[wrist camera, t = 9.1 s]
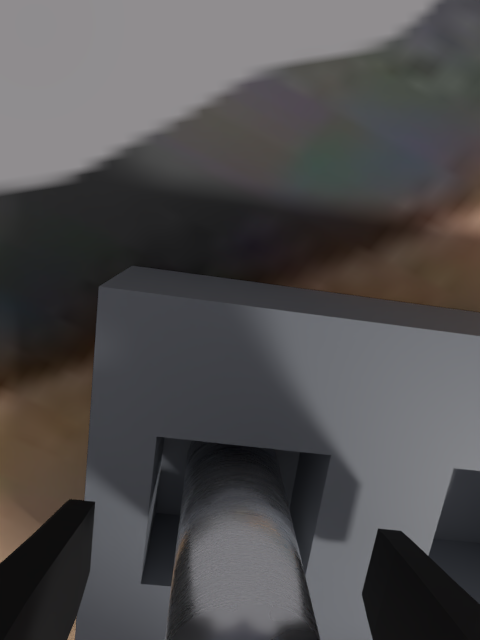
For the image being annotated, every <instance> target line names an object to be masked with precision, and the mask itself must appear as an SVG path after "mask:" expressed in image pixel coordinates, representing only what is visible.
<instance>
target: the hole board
mask: <svg viewBox="0 0 480 640" xmlns="http://www.w3.org/2000/svg"><path fill="white" fill-rule="evenodd" d="M192 440H193V441H202V442H212V443H221V444H230V445H240V446H249V447H259V448H268V449H275V451H276V455H277V460H278V464H279V468H280V472H281V476H282V481H283V485H284V489H285V493H286V497H287V502H288V506H289V510H290V514H291V519H292V523H293V527H294V531H295V535H296V540H297V544H298V548H299V552H300V556H301V561H302V565H303V569H304V573H305V577H306V582H307V586H308V590H309V594H310V598H311V603H312V607H313V611H314V615H315V619H316V624H317V628H318V632H319V636H320V640H373V639H372V635H371V631H370V627H369V623H368V619H367V615H366V611H365V606H364V602H363V597H362V590H363V586H364V582H365V578H366V574H367V570H368V566H369V562H370V558H371V554H372V551H373V547H374V543H375V539H376V535H377V531H378V529H388V530H399V531H402V532H403V533H404V534H405V535H406V536H408V537H409V538H410V539H411V540H412V541H413V542H414V543H415V544H416V545H417V546H418V547H419V548H421V549H422V550H423V551H424V552H425V553H426V554H427V555H428V556H429V557H430V558H431V559H432V560H433V561H434V562H435V563H436V564H437V565H438V566H439V567H440V568H442V569H443V570H444V571H445V572H446V573H447V574H448V575H449V576H450V577H451V578H452V579H453V580H454V581H455V582H456V583H457V584H458V585H459V586H461V587H462V588H463V589H464V590H465V591H466V592H467V593H468V594H469V595H470V596H471V597H472V598H474V599H475V600H476V601H477V602H478V603H479V604H480V312H472V311H465V310H458V309H450V308H443V307H435V306H428V305H421V304H413V303H406V302H398V301H391V300H383V299H376V298H369V297H361V296H354V295H346V294H339V293H332V292H324V291H317V290H309V289H302V288H295V287H287V286H280V285H272V284H265V283H257V282H250V281H243V280H235V279H228V278H220V277H213V276H206V275H198V274H191V273H183V272H176V271H169V270H161V269H154V268H146V267H139V266H131V267H129V268H128V269H126V270H124V271H123V272H121V273H120V274H118V275H116V276H115V277H113V278H112V279H110V280H108V281H107V282H105V283H104V284H102V285H100V286H99V291H98V306H97V321H96V336H95V351H94V366H93V381H92V395H91V410H90V425H89V440H88V455H87V470H86V485H85V500H84V501H93V502H95V512H94V525H93V539H92V552H91V566H90V573H89V577H88V580H87V583H86V587H85V590H84V594H83V597H82V600H81V604H80V607H79V610H78V613H77V619H76V634H75V640H165V633H166V625H167V617H168V609H169V600H170V592H171V584H172V576H173V568H174V560H175V552H176V543H177V535H178V527H179V519H180V511H181V503H182V495H183V486H184V478H185V470H186V462H187V454H188V449H189V446H190V444H191V442H192Z"/></svg>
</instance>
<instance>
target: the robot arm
mask: <svg viewBox="0 0 480 640" xmlns="http://www.w3.org/2000/svg"><path fill="white" fill-rule="evenodd" d="M94 512H95V502H93V501H82V500H72V499H70V500H69V501H67V502H66V503H65V504H64V505H63V506H62V507H61V508H60V509H59V510H58V511H57V512H56V513H55V514H53V515H52V516H51V517H50V518H49V519H48V520H47V521H46V522H45V523H44V524H43V525H42V526H41V527H40V528H39V529H38V530H37V531H36V532H35V533H34V534H33V535H32V536H30V537H29V538H28V539H27V540H26V541H25V542H24V543H23V544H22V545H20V546H19V547H18V548H17V549H16V550H15V551H14V552H13V553H12V554H10V555H9V556H8V557H7V558H6V559H5V560H4V561H3V562H1V563H0V640H67V638H68V636H69V634H70V631H71V629H72V626H73V624H74V621H75V619H76V616H77V613H78V610H79V607H80V604H81V600H82V597H83V594H84V590H85V587H86V583H87V580H88V577H89V573H90V566H91V552H92V539H93V525H94ZM362 597H363V602H364V606H365V611H366V615H367V619H368V623H369V627H370V631H371V635H372V639H373V640H480V604H479V603H478V602H477V601H476V600H475V599H474V598H472V597H471V596H470V595H469V594H468V593H467V592H466V591H465V590H464V589H463V588H462V587H461V586H459V585H458V584H457V583H456V582H455V581H454V580H453V579H452V578H451V577H450V576H449V575H448V574H447V573H446V572H445V571H444V570H443V569H442V568H440V567H439V566H438V565H437V564H436V563H435V562H434V561H433V560H432V559H431V558H430V557H429V556H428V555H427V554H426V553H425V552H424V551H423V550H422V549H421V548H419V547H418V546H417V545H416V544H415V543H414V542H413V541H412V540H411V539H410V538H409V537H408V536H406V535H405V534H404V533H403V532H402V531H399V530H388V529H378V531H377V535H376V539H375V543H374V547H373V551H372V554H371V558H370V562H369V566H368V570H367V574H366V578H365V582H364V586H363V590H362Z"/></svg>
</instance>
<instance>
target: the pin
mask: <svg viewBox="0 0 480 640" xmlns="http://www.w3.org/2000/svg"><path fill="white" fill-rule="evenodd" d="M165 640H320V636H319V632H318V628H317V624H316V619H315V615H314V611H313V607H312V603H311V598H310V594H309V590H308V586H307V582H306V577H305V573H304V569H303V565H302V561H301V556H300V552H299V548H298V544H297V540H296V535H295V531H294V527H293V523H292V519H291V514H290V510H289V506H288V502H287V497H286V493H285V489H284V485H283V481H282V476H281V472H280V468H279V464H278V460H277V455H276V451H275V449H268V448H259V447H249V446H240V445H230V444H221V443H212V442H202V441H193V440H192V442H191V444H190V446H189V449H188V454H187V462H186V470H185V478H184V486H183V495H182V503H181V511H180V519H179V527H178V535H177V543H176V552H175V560H174V568H173V576H172V584H171V592H170V600H169V609H168V617H167V625H166V633H165Z"/></svg>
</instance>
